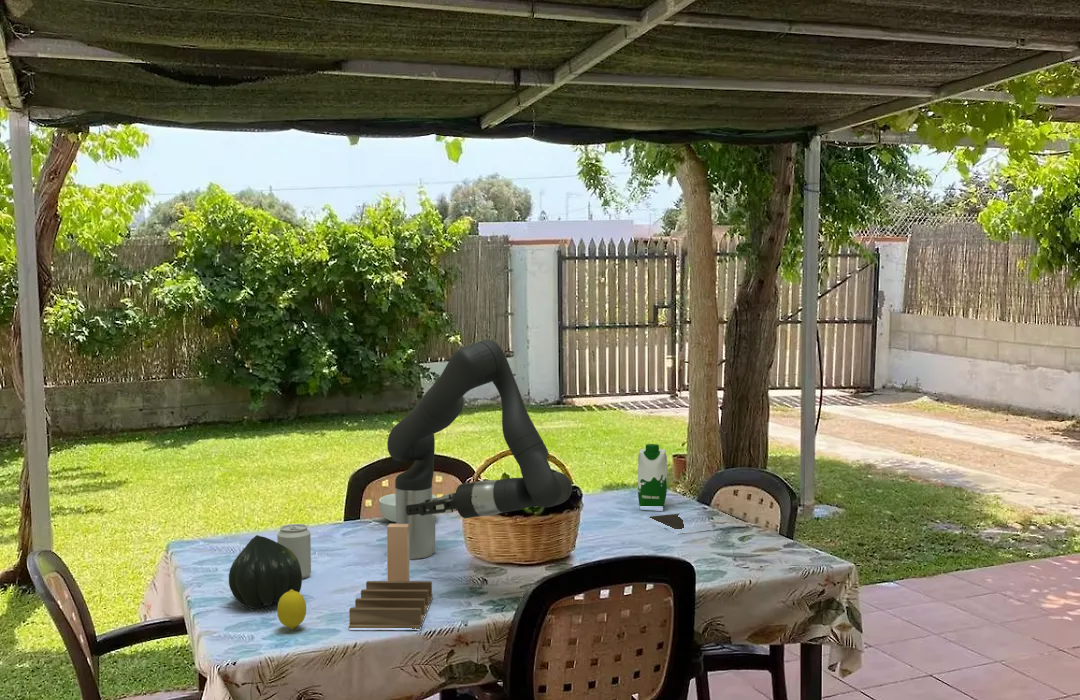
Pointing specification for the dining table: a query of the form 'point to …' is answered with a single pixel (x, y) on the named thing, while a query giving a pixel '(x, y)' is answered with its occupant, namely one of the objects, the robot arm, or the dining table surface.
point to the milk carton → (652, 476)
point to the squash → (264, 573)
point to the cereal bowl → (390, 506)
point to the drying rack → (391, 604)
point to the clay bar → (398, 552)
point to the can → (297, 544)
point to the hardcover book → (677, 520)
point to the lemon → (291, 609)
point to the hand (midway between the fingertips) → (416, 507)
